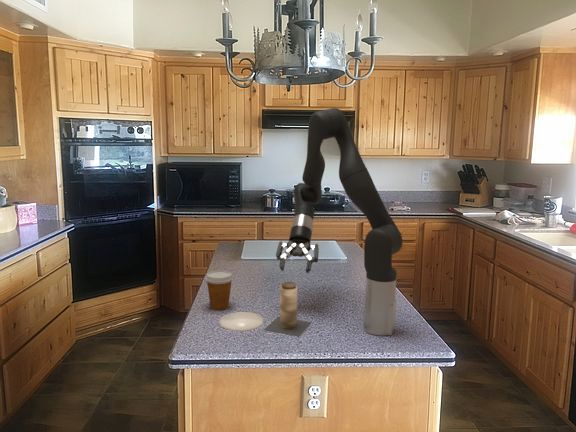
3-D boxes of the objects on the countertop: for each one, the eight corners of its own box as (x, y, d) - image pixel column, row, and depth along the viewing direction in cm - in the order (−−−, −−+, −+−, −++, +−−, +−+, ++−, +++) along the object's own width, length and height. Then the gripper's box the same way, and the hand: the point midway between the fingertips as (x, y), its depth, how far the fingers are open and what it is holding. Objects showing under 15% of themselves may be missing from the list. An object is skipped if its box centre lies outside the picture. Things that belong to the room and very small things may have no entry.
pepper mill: (298, 324, 151) (299, 282, 149) (292, 330, 146) (293, 287, 144) (283, 321, 153) (284, 280, 151) (276, 327, 148) (277, 285, 146)
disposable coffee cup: (203, 303, 169) (203, 271, 167) (229, 300, 173) (229, 269, 171) (209, 313, 160) (208, 279, 158) (236, 309, 164) (236, 276, 162)
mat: (311, 323, 153) (311, 322, 153) (299, 338, 142) (299, 336, 142) (278, 318, 157) (278, 316, 157) (263, 331, 146) (263, 330, 146)
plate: (270, 319, 156) (270, 315, 156) (251, 335, 143) (251, 331, 143) (232, 312, 161) (232, 309, 161) (211, 327, 148) (211, 324, 148)
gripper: (280, 223, 164) (272, 263, 154) (320, 225, 161) (314, 266, 152) (283, 235, 170) (275, 274, 160) (322, 237, 167) (316, 277, 158)
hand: (294, 270), depth 156 cm, fingers open, 8 cm apart
